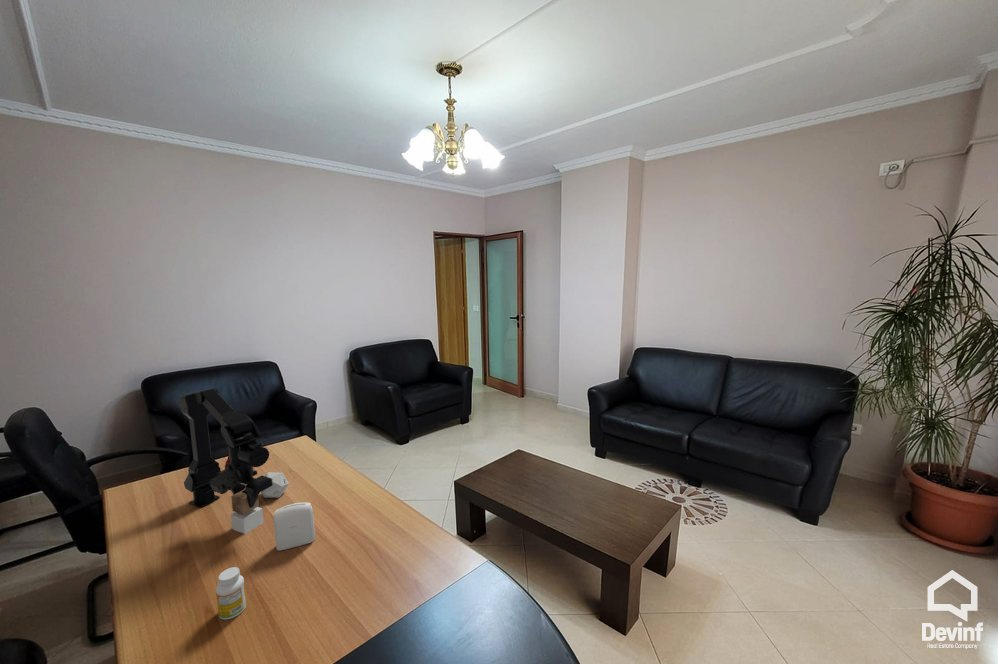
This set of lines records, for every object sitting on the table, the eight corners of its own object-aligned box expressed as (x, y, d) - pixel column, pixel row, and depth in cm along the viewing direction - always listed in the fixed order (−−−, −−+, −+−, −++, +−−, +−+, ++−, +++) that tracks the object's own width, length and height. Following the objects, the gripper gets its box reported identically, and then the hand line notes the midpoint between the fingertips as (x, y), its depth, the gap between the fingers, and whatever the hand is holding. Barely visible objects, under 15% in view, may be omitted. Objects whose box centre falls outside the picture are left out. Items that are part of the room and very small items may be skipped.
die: (267, 507, 130) (285, 481, 132) (246, 493, 131) (265, 467, 133) (280, 502, 139) (298, 477, 140) (261, 488, 139) (278, 464, 141)
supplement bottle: (228, 601, 92) (224, 565, 90) (251, 599, 92) (247, 564, 91) (213, 621, 86) (208, 583, 85) (238, 619, 87) (234, 581, 86)
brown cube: (232, 511, 117) (231, 496, 117) (248, 502, 122) (247, 487, 121) (243, 514, 116) (241, 499, 115) (259, 505, 120) (257, 491, 119)
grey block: (232, 529, 118) (230, 514, 117) (251, 518, 124) (249, 504, 123) (245, 534, 116) (243, 519, 115) (263, 522, 121) (262, 508, 121)
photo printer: (274, 553, 108) (271, 513, 106) (276, 543, 112) (273, 505, 110) (315, 543, 112) (312, 504, 110) (315, 534, 116) (312, 497, 114)
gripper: (193, 464, 113) (198, 512, 115) (234, 477, 106) (239, 528, 108) (231, 448, 123) (236, 493, 125) (271, 459, 116) (275, 506, 118)
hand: (245, 505), depth 119 cm, fingers closed on brown cube, 5 cm apart
